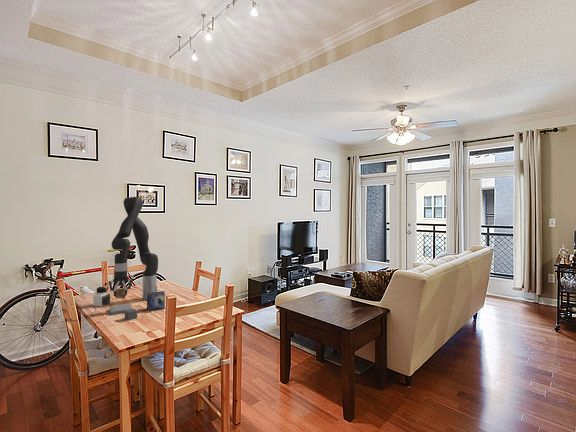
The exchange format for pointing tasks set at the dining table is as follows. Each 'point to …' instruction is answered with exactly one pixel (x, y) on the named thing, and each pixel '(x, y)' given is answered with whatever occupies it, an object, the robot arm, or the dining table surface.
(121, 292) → the walnut cube
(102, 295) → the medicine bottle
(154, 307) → the small box
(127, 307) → the slate coaster
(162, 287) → the dining table surface
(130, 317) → the charcoal block
